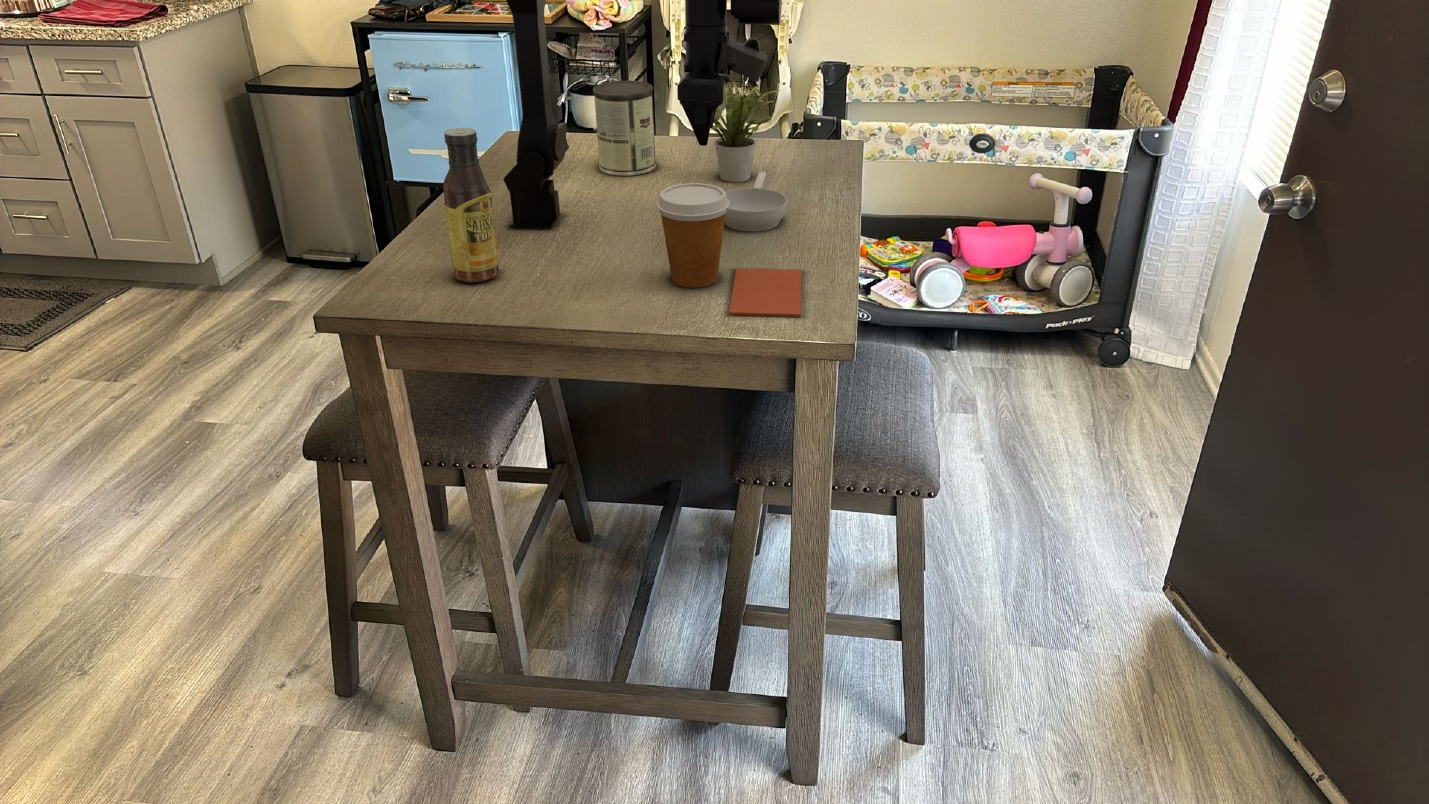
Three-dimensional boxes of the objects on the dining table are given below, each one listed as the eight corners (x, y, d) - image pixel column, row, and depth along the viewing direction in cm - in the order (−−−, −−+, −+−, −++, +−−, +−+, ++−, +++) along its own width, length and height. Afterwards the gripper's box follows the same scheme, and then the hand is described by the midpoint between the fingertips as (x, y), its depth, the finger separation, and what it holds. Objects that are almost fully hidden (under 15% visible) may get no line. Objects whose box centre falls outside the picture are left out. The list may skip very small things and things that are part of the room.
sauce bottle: (477, 288, 132) (456, 141, 122) (444, 279, 135) (421, 134, 125) (511, 272, 137) (493, 129, 127) (477, 263, 140) (458, 122, 130)
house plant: (799, 179, 170) (803, 83, 162) (739, 197, 163) (740, 97, 154) (744, 161, 180) (745, 68, 171) (685, 176, 172) (683, 81, 164)
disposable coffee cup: (722, 295, 130) (721, 208, 124) (652, 290, 132) (648, 203, 125) (735, 267, 138) (735, 184, 132) (669, 262, 140) (666, 180, 133)
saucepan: (711, 231, 150) (711, 207, 148) (730, 192, 165) (730, 170, 163) (782, 235, 148) (782, 211, 146) (794, 195, 163) (795, 173, 161)
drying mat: (729, 315, 125) (729, 312, 125) (736, 270, 137) (736, 268, 137) (800, 317, 124) (800, 314, 124) (801, 272, 136) (801, 269, 136)
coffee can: (609, 157, 182) (604, 78, 175) (662, 160, 180) (660, 81, 173) (590, 174, 174) (584, 92, 167) (646, 178, 172) (643, 95, 165)
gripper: (761, 37, 127) (758, 157, 135) (767, 12, 143) (764, 120, 151) (676, 36, 128) (677, 154, 136) (690, 10, 144) (691, 118, 152)
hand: (706, 136), depth 144 cm, fingers open, 9 cm apart
